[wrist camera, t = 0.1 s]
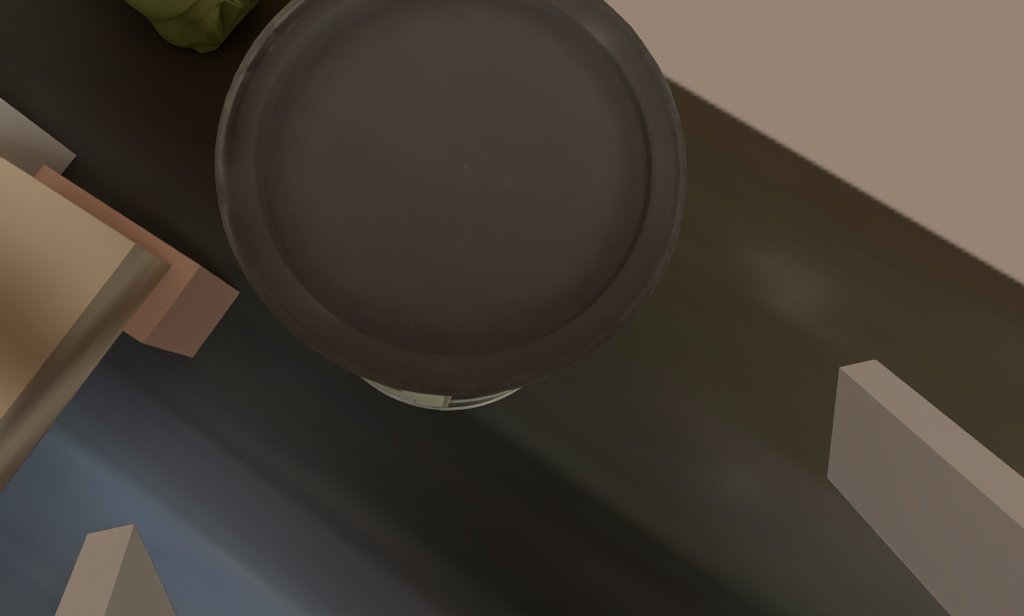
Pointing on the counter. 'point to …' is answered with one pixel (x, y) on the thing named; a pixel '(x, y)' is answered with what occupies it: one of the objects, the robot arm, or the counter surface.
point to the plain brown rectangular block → (161, 282)
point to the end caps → (29, 144)
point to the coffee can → (451, 186)
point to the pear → (194, 20)
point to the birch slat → (57, 305)
